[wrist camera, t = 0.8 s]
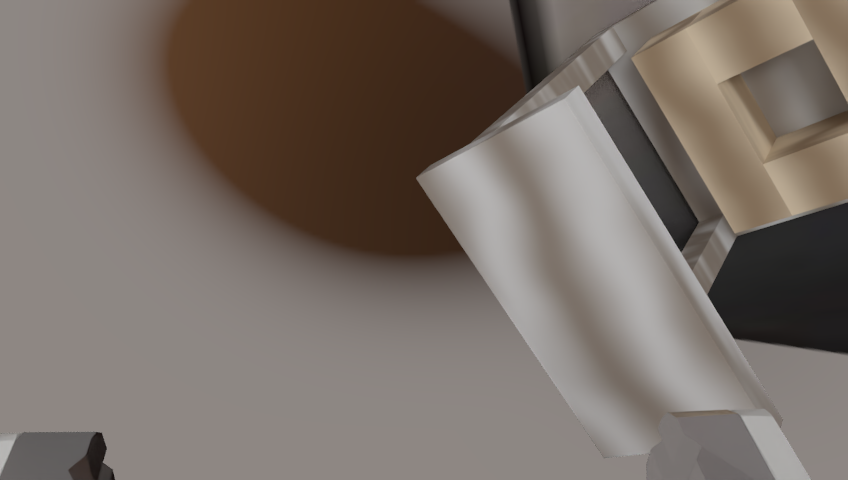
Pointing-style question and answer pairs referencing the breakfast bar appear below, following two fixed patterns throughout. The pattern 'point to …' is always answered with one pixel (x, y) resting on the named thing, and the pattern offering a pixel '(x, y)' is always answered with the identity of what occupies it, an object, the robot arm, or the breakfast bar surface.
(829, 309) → the breakfast bar surface
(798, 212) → the grey open box frame
